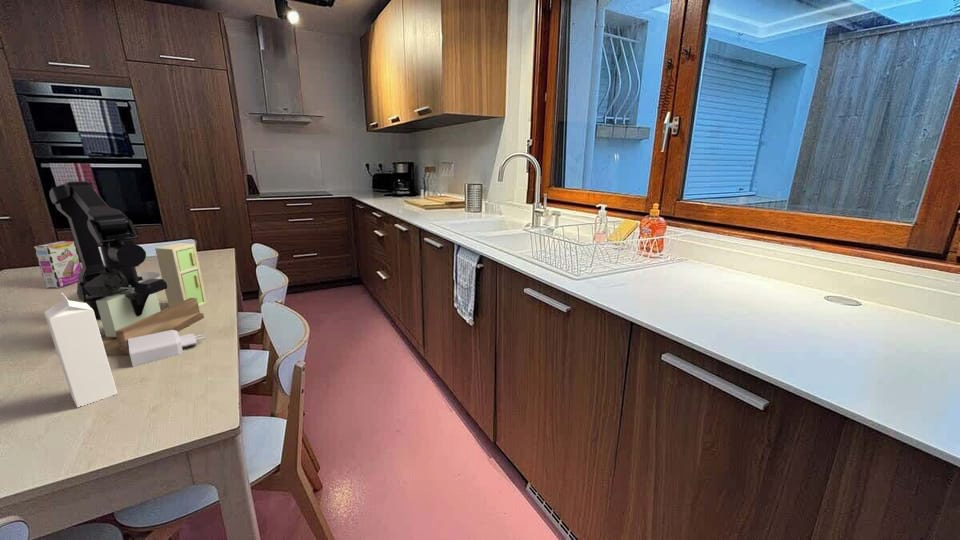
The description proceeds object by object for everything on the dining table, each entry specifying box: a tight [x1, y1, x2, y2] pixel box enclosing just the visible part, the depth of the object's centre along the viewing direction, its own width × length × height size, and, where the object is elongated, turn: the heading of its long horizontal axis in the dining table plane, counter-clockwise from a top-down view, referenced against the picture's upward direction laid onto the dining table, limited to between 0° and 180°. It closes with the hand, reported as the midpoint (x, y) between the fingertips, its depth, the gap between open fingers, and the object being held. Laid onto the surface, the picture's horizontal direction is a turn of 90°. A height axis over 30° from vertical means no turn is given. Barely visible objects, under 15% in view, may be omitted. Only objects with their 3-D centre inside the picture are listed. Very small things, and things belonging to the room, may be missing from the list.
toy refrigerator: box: [155, 242, 208, 308], centre depth 125 cm, size 8×7×21 cm
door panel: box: [96, 289, 162, 337], centre depth 106 cm, size 3×14×10 cm, turn 177°
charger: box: [128, 330, 206, 368], centre depth 98 cm, size 5×9×15 cm
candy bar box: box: [33, 240, 82, 289], centre depth 149 cm, size 11×5×16 cm, turn 6°
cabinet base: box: [100, 298, 205, 356], centre depth 107 cm, size 16×24×6 cm, turn 177°
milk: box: [43, 292, 118, 408], centre depth 76 cm, size 6×6×22 cm
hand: (133, 315), depth 107 cm, fingers closed on door panel, 3 cm apart
